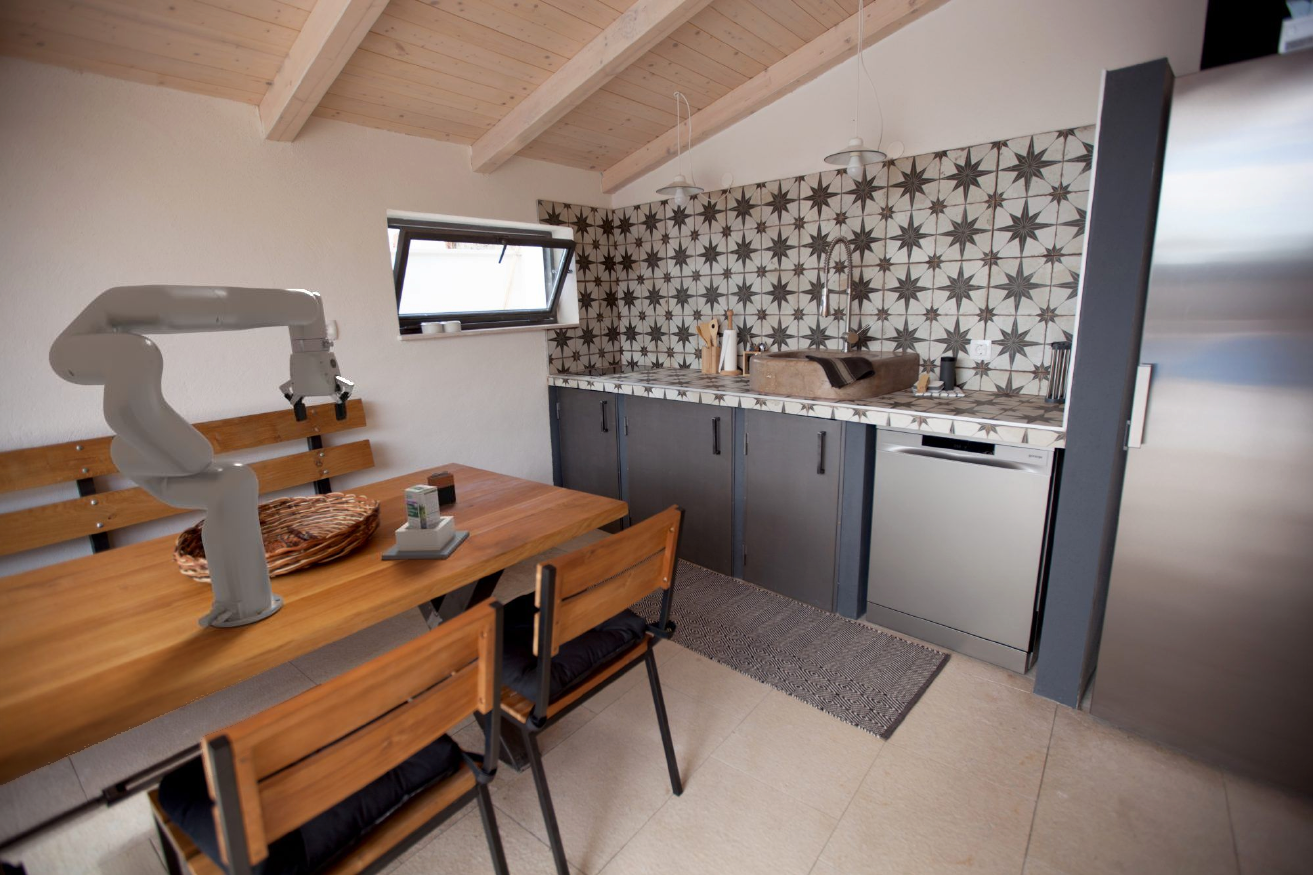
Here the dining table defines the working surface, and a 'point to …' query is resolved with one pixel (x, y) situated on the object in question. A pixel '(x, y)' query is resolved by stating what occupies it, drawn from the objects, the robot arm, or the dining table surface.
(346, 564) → the dining table surface
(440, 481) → the battery
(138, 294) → the robot arm
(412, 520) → the syrup box
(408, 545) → the socket
